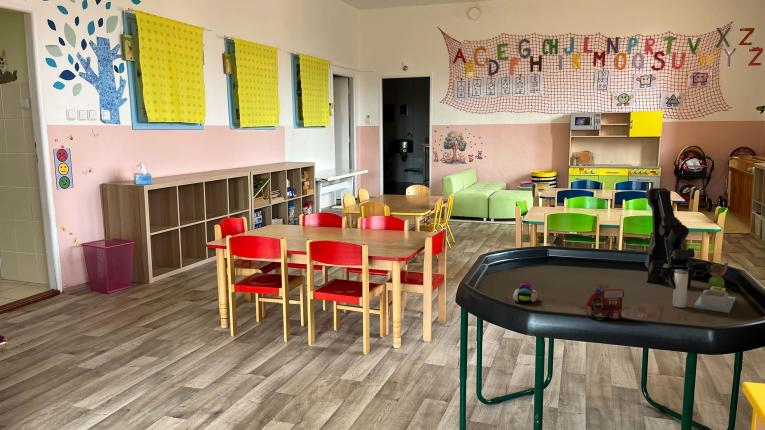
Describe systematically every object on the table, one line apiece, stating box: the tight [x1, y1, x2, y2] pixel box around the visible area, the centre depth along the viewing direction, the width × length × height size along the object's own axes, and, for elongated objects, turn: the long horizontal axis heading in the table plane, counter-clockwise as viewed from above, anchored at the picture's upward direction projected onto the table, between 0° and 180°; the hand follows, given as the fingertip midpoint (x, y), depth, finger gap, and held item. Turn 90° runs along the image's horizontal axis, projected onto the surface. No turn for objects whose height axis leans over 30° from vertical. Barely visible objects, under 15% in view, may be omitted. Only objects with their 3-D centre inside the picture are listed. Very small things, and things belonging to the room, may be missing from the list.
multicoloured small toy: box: [512, 281, 538, 302], centre depth 226 cm, size 8×10×7 cm
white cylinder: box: [672, 269, 688, 308], centre depth 215 cm, size 4×4×13 cm
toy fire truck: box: [585, 288, 625, 318], centre depth 206 cm, size 7×12×10 cm, turn 87°
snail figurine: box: [708, 259, 730, 288], centre depth 236 cm, size 5×6×12 cm
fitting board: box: [693, 287, 737, 314], centre depth 219 cm, size 11×18×4 cm, turn 144°
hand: (681, 288), depth 214 cm, fingers closed on white cylinder, 4 cm apart
